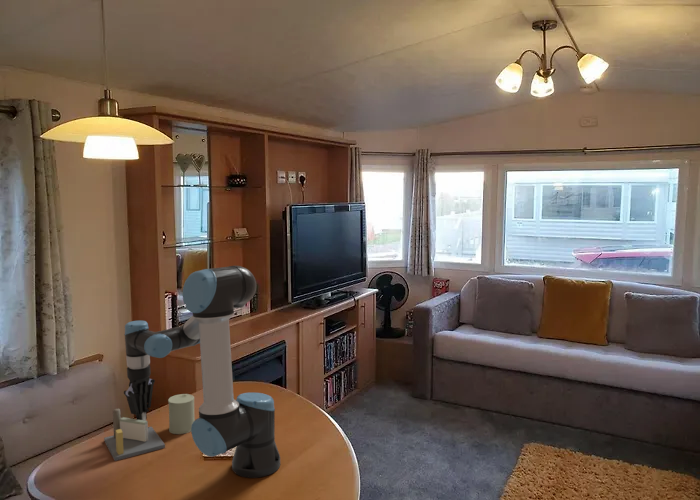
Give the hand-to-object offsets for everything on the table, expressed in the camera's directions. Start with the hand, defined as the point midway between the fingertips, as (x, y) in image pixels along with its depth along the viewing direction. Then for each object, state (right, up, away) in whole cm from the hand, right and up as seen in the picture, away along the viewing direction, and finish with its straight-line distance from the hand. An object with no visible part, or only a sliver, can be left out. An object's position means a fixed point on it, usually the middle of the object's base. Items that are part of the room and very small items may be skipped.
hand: (142, 430), depth 188 cm
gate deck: (-1, -4, -3) cm, 5 cm away
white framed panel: (-2, -2, -3) cm, 4 cm away
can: (+11, -3, +9) cm, 15 cm away
